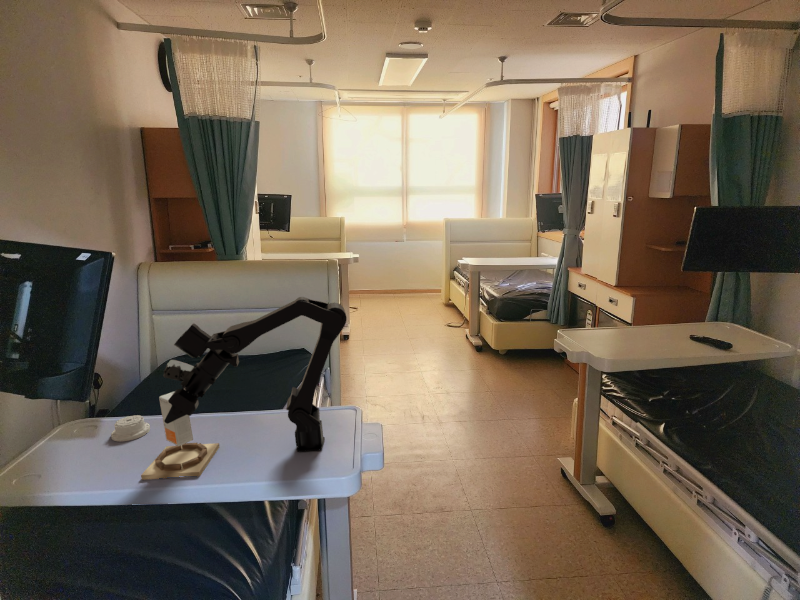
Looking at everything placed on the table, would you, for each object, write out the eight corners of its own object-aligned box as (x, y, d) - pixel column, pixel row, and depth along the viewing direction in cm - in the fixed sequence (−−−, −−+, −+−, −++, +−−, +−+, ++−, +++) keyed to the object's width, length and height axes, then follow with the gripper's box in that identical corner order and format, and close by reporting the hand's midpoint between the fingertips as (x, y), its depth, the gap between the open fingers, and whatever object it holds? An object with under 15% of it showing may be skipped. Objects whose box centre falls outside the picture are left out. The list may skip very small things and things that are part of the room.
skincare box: (165, 441, 125) (158, 396, 123) (181, 434, 129) (174, 390, 126) (177, 447, 122) (170, 401, 119) (194, 440, 125) (187, 395, 122)
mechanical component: (103, 441, 141) (134, 443, 139) (100, 427, 140) (131, 428, 138) (129, 425, 150) (157, 427, 148) (126, 412, 149) (155, 413, 147)
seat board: (219, 447, 133) (218, 439, 133) (199, 476, 120) (198, 467, 119) (167, 450, 133) (166, 442, 133) (141, 479, 119) (140, 470, 119)
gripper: (190, 339, 130) (153, 384, 131) (171, 361, 112) (127, 413, 113) (226, 363, 133) (189, 407, 133) (212, 389, 115) (170, 440, 115)
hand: (170, 416), depth 124 cm, fingers closed on skincare box, 7 cm apart
